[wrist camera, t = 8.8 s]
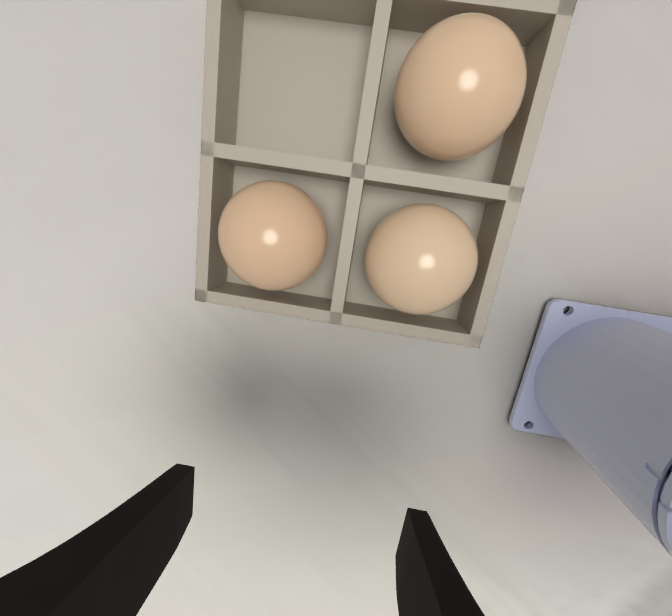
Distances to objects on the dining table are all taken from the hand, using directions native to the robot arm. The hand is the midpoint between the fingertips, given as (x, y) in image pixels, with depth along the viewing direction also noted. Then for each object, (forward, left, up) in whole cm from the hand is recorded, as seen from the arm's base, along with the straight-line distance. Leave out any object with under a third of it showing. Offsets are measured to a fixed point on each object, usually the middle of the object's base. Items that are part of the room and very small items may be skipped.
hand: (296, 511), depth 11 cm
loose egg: (-3, -15, -9) cm, 18 cm away
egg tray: (0, -12, -10) cm, 15 cm away
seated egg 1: (+3, -8, -9) cm, 13 cm away
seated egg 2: (-3, -8, -9) cm, 13 cm away
